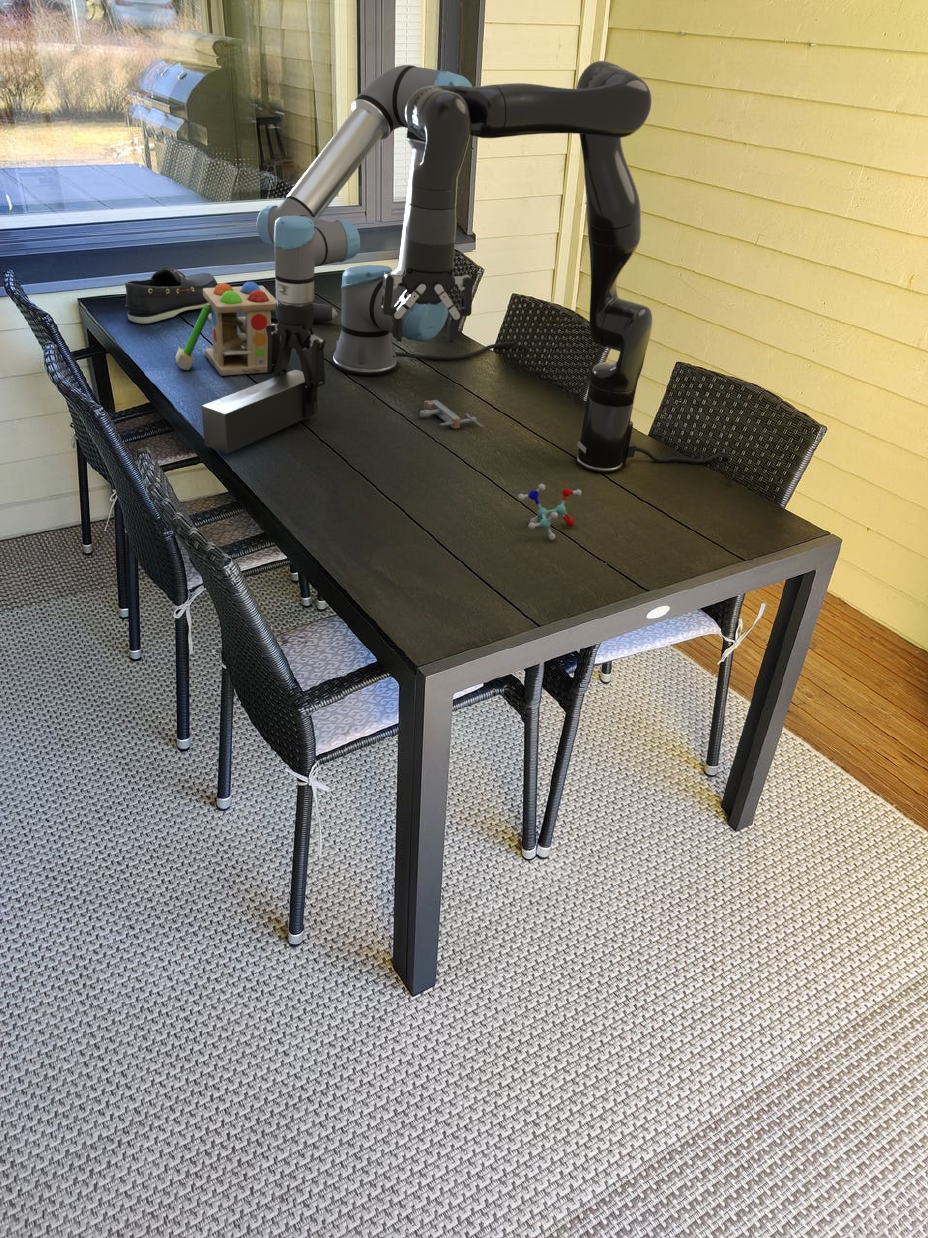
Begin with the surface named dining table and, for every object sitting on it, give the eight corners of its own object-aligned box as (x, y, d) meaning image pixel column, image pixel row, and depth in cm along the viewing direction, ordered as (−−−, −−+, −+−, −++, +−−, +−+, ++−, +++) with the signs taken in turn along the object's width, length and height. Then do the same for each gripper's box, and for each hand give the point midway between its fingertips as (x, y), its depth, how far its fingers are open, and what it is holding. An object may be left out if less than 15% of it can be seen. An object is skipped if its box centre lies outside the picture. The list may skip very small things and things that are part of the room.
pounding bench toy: (183, 379, 220) (176, 299, 210) (169, 357, 231) (162, 280, 221) (282, 371, 230) (280, 294, 220) (264, 350, 240) (262, 276, 230)
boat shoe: (237, 302, 271) (234, 263, 265) (145, 325, 247) (140, 283, 242) (203, 293, 276) (200, 255, 271) (110, 316, 253) (104, 274, 247)
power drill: (344, 304, 276) (335, 327, 259) (277, 298, 275) (264, 321, 258) (344, 285, 273) (335, 306, 256) (277, 279, 272) (264, 300, 255)
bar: (295, 405, 210) (295, 369, 206) (317, 413, 208) (317, 376, 203) (204, 445, 190) (201, 405, 186) (227, 453, 188) (225, 414, 184)
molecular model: (578, 533, 169) (560, 478, 167) (528, 548, 172) (510, 494, 171) (592, 523, 179) (575, 471, 178) (544, 538, 183) (527, 486, 182)
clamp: (412, 401, 215) (452, 396, 220) (411, 411, 216) (451, 405, 221) (445, 428, 205) (486, 422, 209) (444, 438, 206) (485, 432, 210)
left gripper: (245, 293, 194) (249, 404, 207) (320, 316, 187) (320, 429, 200) (270, 286, 200) (273, 394, 213) (345, 308, 192) (343, 418, 205)
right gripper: (388, 240, 145) (384, 348, 154) (481, 243, 148) (472, 348, 157) (380, 228, 151) (377, 332, 160) (470, 231, 154) (462, 333, 163)
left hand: (296, 411), depth 206 cm, fingers closed on bar, 6 cm apart
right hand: (424, 340), depth 159 cm, fingers open, 8 cm apart
